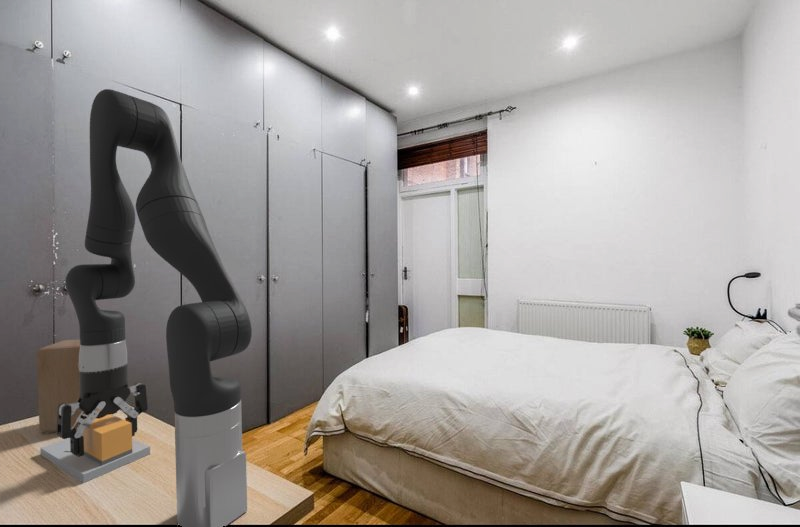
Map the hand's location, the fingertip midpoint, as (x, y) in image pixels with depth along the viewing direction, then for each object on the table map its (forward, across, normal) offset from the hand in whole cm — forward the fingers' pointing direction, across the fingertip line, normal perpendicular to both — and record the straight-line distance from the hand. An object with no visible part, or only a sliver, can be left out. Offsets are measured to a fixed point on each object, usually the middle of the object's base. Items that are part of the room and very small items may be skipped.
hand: (106, 445), depth 73 cm
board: (+3, 0, +5) cm, 6 cm away
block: (+4, +4, +27) cm, 27 cm away
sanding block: (+2, 0, 0) cm, 2 cm away
